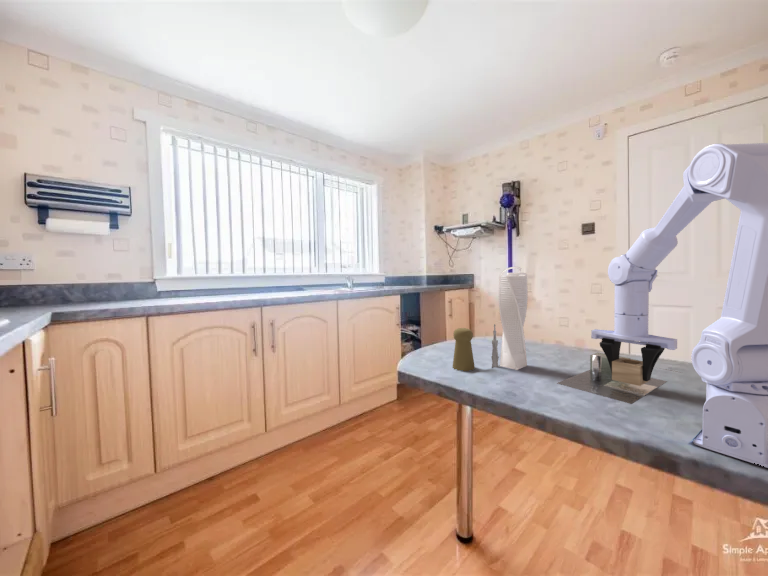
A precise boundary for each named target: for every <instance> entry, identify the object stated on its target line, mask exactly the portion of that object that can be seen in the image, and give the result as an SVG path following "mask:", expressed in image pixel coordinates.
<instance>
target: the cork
mask: <svg viewBox="0 0 768 576" xmlns="http://www.w3.org/2000/svg"><path fill="white" fill-rule="evenodd" d="M473 337H474V334H473V331H472V330H471V329H470V328H466V327H461V328H459V327H458V328H455V329H454V331H453V338H454V341H455V342H454V350H453V360H452V369H453V368H454V369H453V370H455V369H457V370H456V371H459V370H463V371H462V372H470V371H469V370H472V371H474V370H475V369H474V368H475V366H476V365H475V361H474V354H473V348H472V346H473V345H472V340H473ZM473 369H474V370H473Z"/></svg>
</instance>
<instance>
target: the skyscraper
mask: <svg viewBox="0 0 768 576" xmlns="http://www.w3.org/2000/svg"><path fill="white" fill-rule="evenodd" d="M511 269H514V270H515V269H518V271H517V272H507V271H509V270H511ZM521 271H522V268H521V266H511V267H507V268H504V269H503V270H502V272H500V274H499V276H498V309H499V310H498V311H499V316H500V323H501V327H502V338H501V345H500V359H499V351H498V344H499V341H498V340H497V330H496V324H493V327H494V328H493V331H492V333H493V339H492V340H491V344H492V350H491V351H492V352H491V355H492V356H490V357H491V362H492V363H491V369H494V368H498V367H499V366H500V367H503V368H507V369H512V370H514V371H515V370H516V371H519V370H520V369H522V368H525V367H527V366H528V359H527V350H526V349H527V348H526V347H527V346H526V339H525V331H524V324H525V322H526V317H527V310H528V298H529V297H528V296H529V295H528V293H529V292H528V274H527V272H521ZM504 273H506V275H504ZM499 360H500V361H499Z"/></svg>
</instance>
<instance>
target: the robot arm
mask: <svg viewBox="0 0 768 576" xmlns="http://www.w3.org/2000/svg"><path fill="white" fill-rule="evenodd" d="M682 181H683V186H682V188H681V190H679V192H678V194H677V195H676V197H675V198H674V199H673V201H672V202H671V204H670V205H669V206H668V208H667V209H666V211H665V213H664V214H663V216H662V217H661V218H660V220H659V221H658V223H657V224H656V225H655V227H650V228H647V229H644V230H643V231H642V232H641V233H640V234H639V235H638V237H637V239H636V240H635V241H634V243H632V245H631V247H629V249H628V250H627V251H626V253H624V254H621V255H620V256H615V257H614V258H612V259H611V260H610V262H609V264H608V267H607V276H608V278H609V280H610V281H611V283H612V284H613V285H614V311H613V313H614V318H613V319H614V321H613V322H614V325H613V326H614V330H607V329H606V330H605V329H597V328H595V329H592V330H591V334H590V335H591V339H593V340H601V341H600V342H599V346H600V348H601V350H602V351H603V354H605V355H606V357H607V359H608V362H609V365H610V369H611V373H612V361H614V360H617V359H619V356H620V352H621V345H622V343H626V344H634V345H640V346H641V345H642V347H640V353H641V361H643V372H642V376H643V381H649V380H650V378H652V373H653V370H654V368H655V366H656V363H657V362H658V360H659V358H660V356H661V355H662V354H663V353H664V352H665V349H667V350H670V351H671V350H672V351H675V350H677V349H678V338H671V337H666V336H660V335H653V334H649V311H650V310H649V305H650V304H649V303H650V301H649V299H650V296H649V294H650V293H651V292H652V290H653V284H654V281H655V280H656V278H657V275H658V269H656V268H657V267H658V266H660V265H661V263H662V262H663V261H664V260H665V259H666V258H667V257H668V256H669V255H670V253H672V251H674V249H675V248H676V247H677V246H678V238H677V235H679V233H681V232H682V231H683V230H684V229H685V228H686V227H687V226H688V225H689V224H690V223H691V222H692V221H693V220H695V218H696V217H698V216H699V215H700V214H701V213H702V212H703V211H704V210H705V209H706V208H707V207H708V206H709V205H711V204H712V203H713V202H716V201H719V200H725V199H726V200H727V201H728V202H729V203H731V204H732V205H734V206H735V207H736V208H738V209H739V210H740V214H739V220H738V224H737V225H738V226H737V229H736V234H735V235H736V236H735V241H734V246H733V250H732V256H731V262H730V267H729V272H728V277H727V284H726V288H725V294H724V300H723V304H722V308H721V315H720V318H718V319H716V321H714V322H713V323H711V324H710V325H708V326H707V327H705V328H703V330H702V331H701V336H700V338H699V341H698V343H697V344H696V345H695V346H693V348H692V351H691V356H690V357H691V358H690V359H691V364H692V367H693V369H694V370H695V373H697V374H698V376H699V377H700V378H701V381H702V382H704V383H706V385H705V387H706V388H705V391H706V393H705V394H706V395H705V402H704V404H703V407H702V431H700V432H699V433H698V435H697V436H695V438H694V439H693V441H692V443H693V445H695V446H698V447H700V448H704V449H707V450H709V451H713V452H716V453H720V454H723V455H726V456H728V457H732V458H735V459H739V460H742V461H745V462H748V463H751V464H754V463H755V464H754V465H757V464H759V465H758V466H760V465H761V466H760V467H763V466H764V467H763V468H766V469H768V142H760V143H758V142H756V143H755V142H754V143H732V144H731V143H730V144H729V143H728V144H725V143H713V144H710V145H707V146H705V147H703V148H702V149H701V150H699V151H698V152H697V153H696V154H695V156H694V157H693V158H692V160H691V162H690V164H689V165H688V166H687V167H686V169H685V170H684V171H683V172H682Z"/></svg>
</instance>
